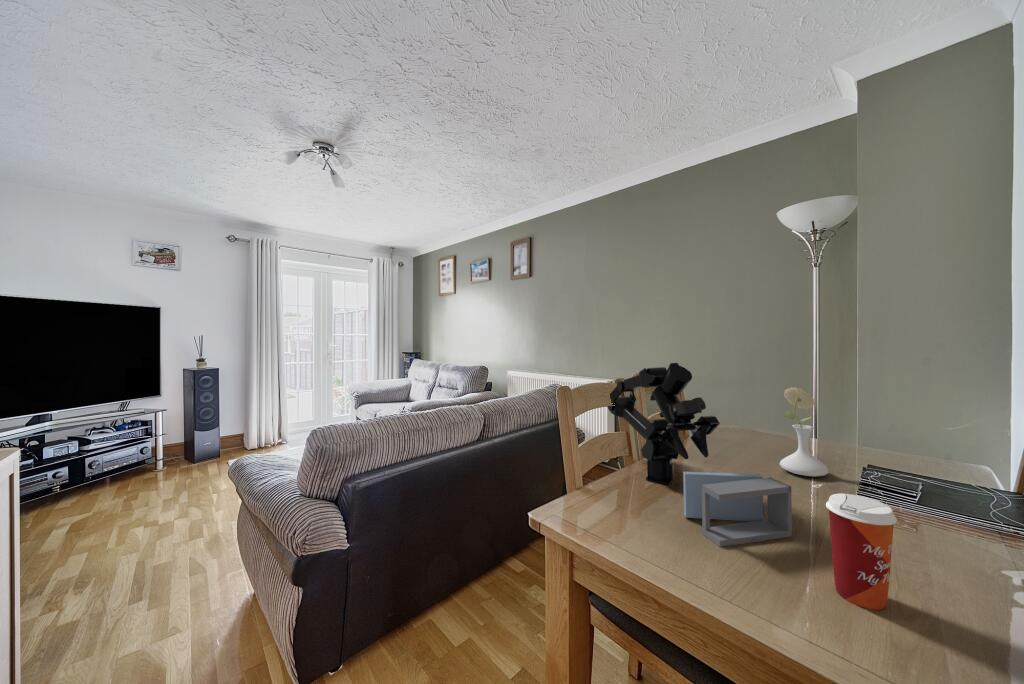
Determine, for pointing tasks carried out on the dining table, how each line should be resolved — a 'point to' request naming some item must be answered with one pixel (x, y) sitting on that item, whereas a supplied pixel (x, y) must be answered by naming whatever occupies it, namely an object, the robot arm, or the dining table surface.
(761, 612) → the dining table surface
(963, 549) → the dining table surface
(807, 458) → the flower in vase
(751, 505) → the door
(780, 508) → the cabinet
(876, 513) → the coffee cup
